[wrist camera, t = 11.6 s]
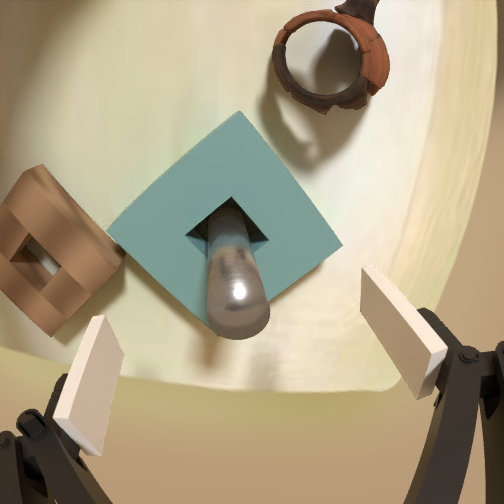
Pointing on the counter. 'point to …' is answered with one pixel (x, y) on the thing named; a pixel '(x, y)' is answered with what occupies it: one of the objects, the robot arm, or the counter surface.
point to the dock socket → (210, 198)
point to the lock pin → (233, 279)
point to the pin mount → (51, 250)
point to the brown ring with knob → (371, 47)
